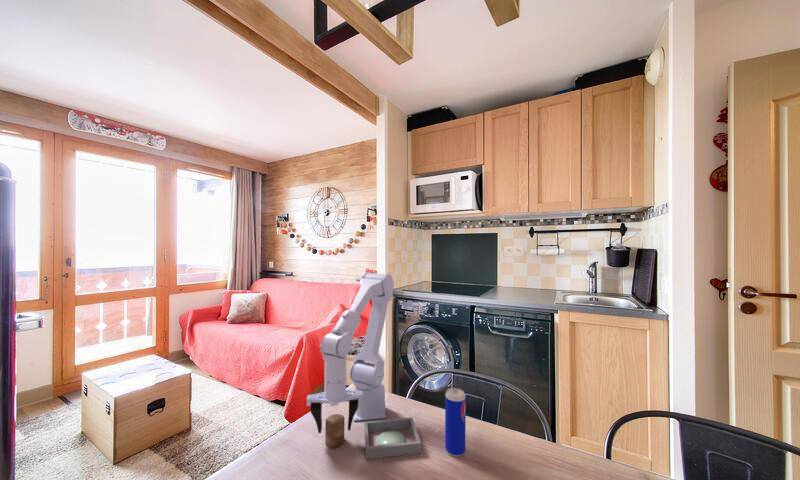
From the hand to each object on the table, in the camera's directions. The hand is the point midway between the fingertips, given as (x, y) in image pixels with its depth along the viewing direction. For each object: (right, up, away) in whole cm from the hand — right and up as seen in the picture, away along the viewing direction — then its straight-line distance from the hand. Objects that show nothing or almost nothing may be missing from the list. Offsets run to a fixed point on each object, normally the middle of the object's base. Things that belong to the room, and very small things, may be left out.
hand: (334, 429), depth 77 cm
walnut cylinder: (0, -4, 0) cm, 4 cm away
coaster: (+15, -4, 0) cm, 16 cm away
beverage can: (+32, -4, -3) cm, 32 cm away
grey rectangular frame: (+15, -4, 0) cm, 16 cm away
